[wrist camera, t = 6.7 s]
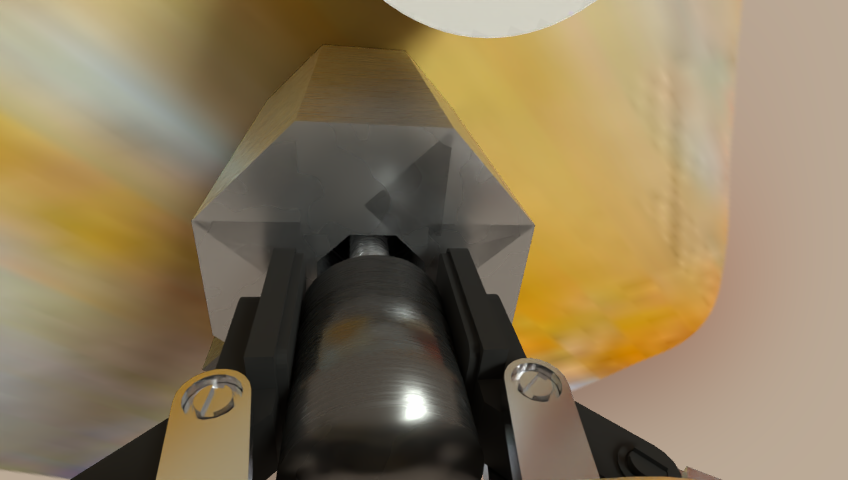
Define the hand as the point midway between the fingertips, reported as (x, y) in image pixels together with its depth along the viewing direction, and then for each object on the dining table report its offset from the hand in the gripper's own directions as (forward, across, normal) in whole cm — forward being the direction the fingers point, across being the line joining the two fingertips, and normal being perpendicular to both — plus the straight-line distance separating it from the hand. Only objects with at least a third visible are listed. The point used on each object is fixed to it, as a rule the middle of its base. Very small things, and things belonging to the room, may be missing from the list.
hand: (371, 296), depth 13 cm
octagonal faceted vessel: (+13, +1, +1) cm, 13 cm away
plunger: (+12, 0, 0) cm, 12 cm away
